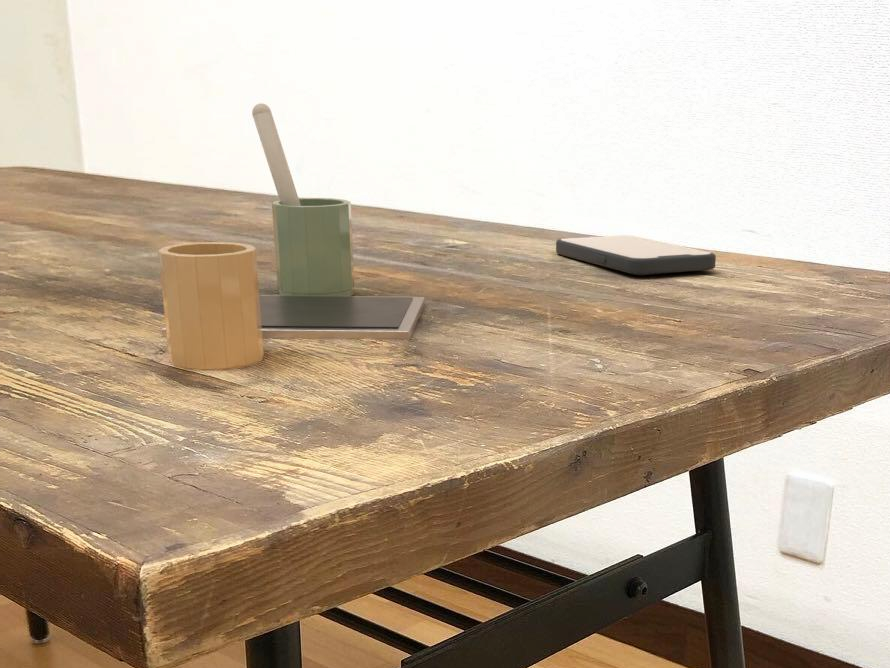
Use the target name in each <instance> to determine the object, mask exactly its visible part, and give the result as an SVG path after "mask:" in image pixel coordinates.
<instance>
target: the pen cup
mask: <svg viewBox="0 0 890 668" xmlns="http://www.w3.org/2000/svg"><path fill="white" fill-rule="evenodd" d="M298 198H299V201H300V205H301V206H293V205H284V204H281V202H280V199H278V200H275V201H273V202H271V213H272V224H273V241H274V257H275V271H276V286H277V289H278V295H283V296H354V294H355V272H354V270H355V269H354V248H353V246H354V245H353V225H352V224H353V223H352V222H353V221H352V204H351V201H349V200H348V199H341V198H330V197H298Z"/></svg>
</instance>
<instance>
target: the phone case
mask: <svg viewBox="0 0 890 668" xmlns="http://www.w3.org/2000/svg"><path fill="white" fill-rule="evenodd" d="M555 253H556V254H557V255H560V256H564V257H568V258H571V259H575V260H578V261H583V262H586V263H589V264H594V265H597V266H601V267H605V268H607V269H612V270H616V271H620V272H622V273H626V274H630V275H634V276H637V277H645V276H651V275H653V276H654V275H664V274H671V273H684V272H698V271H711V270H714V269H715V268H716V261H717V256H716V254H715V253H713V252H709V251H706V250H701V249H696V248H692V247H687V246H681V245H678V244H673V243H669V242H665V241H661V240H660V241H659V240H654V239H650V238H645V237H641V236H635V235H627V234H625V235H605V236H603V235H602V236H589V237H588V236H587V237H586V236H585V237H569V238H568V237H567V238H559V239H557V240H556V242H555Z"/></svg>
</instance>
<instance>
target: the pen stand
mask: <svg viewBox="0 0 890 668" xmlns="http://www.w3.org/2000/svg"><path fill="white" fill-rule="evenodd" d="M157 253H158V263H159V264H158V265H159V275H160V284H161V290H162V291H161V292H162V301H163V302H162V303H163V312H164V323H165V326H166V333H167V337H166V341H167V342H166V343H167V352H168V360H169V361H170V364H171V365H172V366H173V367H177V368H180V369H183V370H184V369H185V370H194V371H222V370H233V369H239V368H245V367H250V366H253V365H256V364H259V363H260V362H261V361H262V360H263V359H264V356H265V355H264V342H263V341H264V338H262V325H261V312H260V298H259V295H260V286H259V274H258V272H259V271H258V261H257V259H258V257H257V248H256V247H255V246H254V245H251V244H246V243H240V242H228V241H227V242H226V241H205V242H201V241H200V242H187V243H178V244H172V245H166V246H163V247H161V248H160V249H158V250H157Z"/></svg>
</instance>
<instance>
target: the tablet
mask: <svg viewBox="0 0 890 668" xmlns="http://www.w3.org/2000/svg"><path fill="white" fill-rule="evenodd" d="M259 298H260V312H261V325H262V339H301V340H302V339H307V340H308V339H310V340H311V339H314V340H401V341H402V340H407V341H408V340H410V339H411V337H412V335H413V333H414V330H415V329H416V325H417V324H418V322H419V319H420V316H421V314H422V313H423V310H424V307H425V305H426V297H424V296H377V295H376V296H374V295H373V296H371V295H370V296H368V295H366V296H365V295H363V296H361V295H352V296H283V295H279V294H278V295H277V294H276V295H273V294H272V295H271V294H270V295H269V294H259ZM161 337H162V338H167V333H166V325H165V326H163V327H162V328H161Z"/></svg>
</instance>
